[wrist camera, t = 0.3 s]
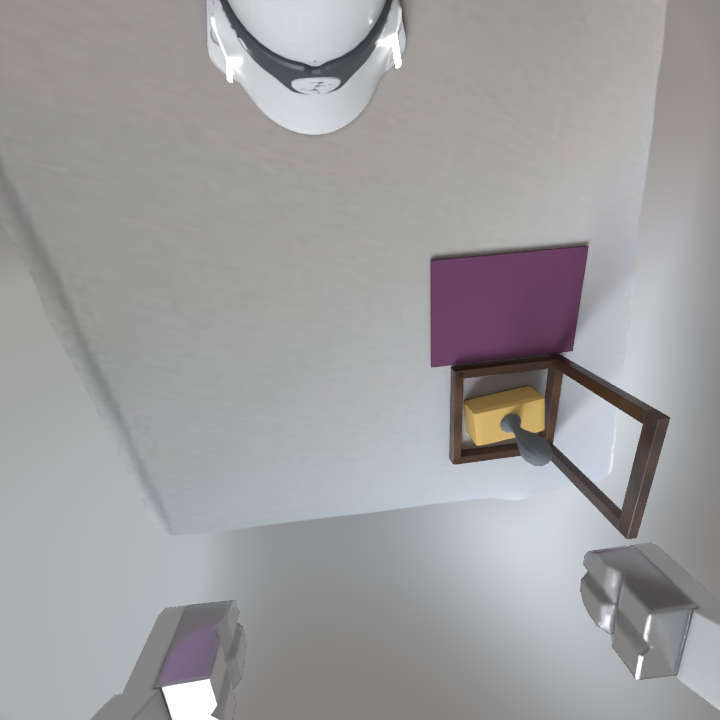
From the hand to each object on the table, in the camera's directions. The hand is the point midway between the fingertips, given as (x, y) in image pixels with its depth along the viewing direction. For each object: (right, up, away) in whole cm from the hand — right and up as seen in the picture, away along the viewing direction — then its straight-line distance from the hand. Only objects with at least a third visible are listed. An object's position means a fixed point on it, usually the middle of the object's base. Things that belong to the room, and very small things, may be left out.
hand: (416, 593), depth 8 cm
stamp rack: (+19, -2, +45) cm, 49 cm away
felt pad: (+18, +12, +39) cm, 45 cm away
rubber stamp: (+19, -2, +45) cm, 49 cm away
